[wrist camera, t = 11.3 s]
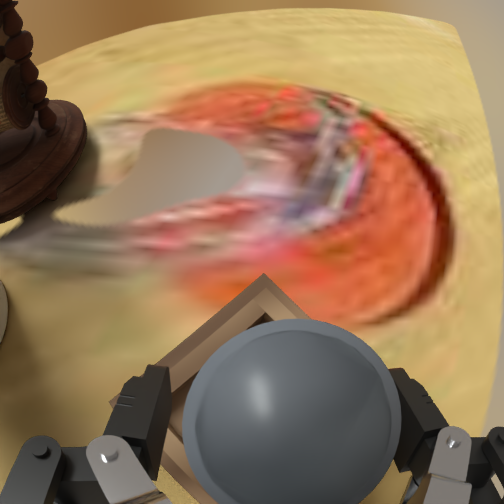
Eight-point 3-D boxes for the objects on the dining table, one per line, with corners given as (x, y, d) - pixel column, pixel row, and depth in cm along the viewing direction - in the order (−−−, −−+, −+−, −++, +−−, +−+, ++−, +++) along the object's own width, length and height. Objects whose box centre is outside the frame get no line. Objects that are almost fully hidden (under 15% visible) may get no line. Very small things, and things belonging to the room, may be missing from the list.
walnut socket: (116, 403, 17) (100, 400, 14) (261, 282, 21) (266, 264, 19) (255, 541, 13) (259, 558, 11) (391, 408, 18) (412, 405, 15)
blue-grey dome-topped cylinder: (184, 414, 16) (135, 417, 7) (260, 348, 18) (297, 277, 9) (257, 485, 14) (294, 561, 5) (330, 416, 16) (435, 410, 7)
